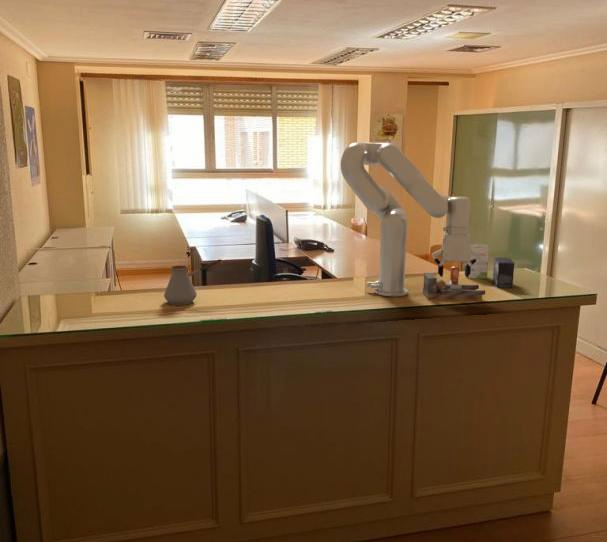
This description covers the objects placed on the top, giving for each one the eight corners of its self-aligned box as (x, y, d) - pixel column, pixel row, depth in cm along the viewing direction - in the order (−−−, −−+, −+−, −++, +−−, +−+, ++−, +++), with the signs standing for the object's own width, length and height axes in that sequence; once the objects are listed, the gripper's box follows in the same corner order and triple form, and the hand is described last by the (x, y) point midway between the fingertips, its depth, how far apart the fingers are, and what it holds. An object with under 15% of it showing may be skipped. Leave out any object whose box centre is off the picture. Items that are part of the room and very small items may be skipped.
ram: (450, 292, 220) (451, 268, 218) (446, 288, 226) (447, 265, 224) (460, 292, 220) (462, 269, 218) (456, 288, 226) (458, 265, 224)
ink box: (484, 276, 256) (487, 242, 252) (487, 278, 251) (489, 244, 247) (464, 275, 256) (466, 241, 253) (466, 278, 252) (468, 243, 248)
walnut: (435, 292, 221) (435, 281, 220) (432, 289, 225) (433, 278, 224) (446, 292, 221) (447, 281, 220) (444, 289, 225) (444, 278, 224)
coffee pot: (165, 308, 206) (163, 265, 203) (163, 299, 217) (161, 259, 213) (226, 303, 212) (225, 262, 209) (221, 295, 223) (220, 255, 220)
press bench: (427, 299, 219) (428, 278, 217) (422, 293, 227) (423, 272, 226) (484, 300, 219) (486, 278, 217) (477, 293, 228) (479, 273, 226)
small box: (491, 281, 247) (493, 256, 244) (507, 282, 246) (510, 257, 243) (496, 288, 236) (498, 262, 234) (513, 288, 235) (515, 262, 233)
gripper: (436, 232, 214) (432, 278, 218) (483, 232, 214) (479, 278, 218) (431, 228, 221) (428, 273, 225) (477, 229, 221) (474, 274, 225)
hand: (453, 276), depth 221 cm, fingers open, 9 cm apart
